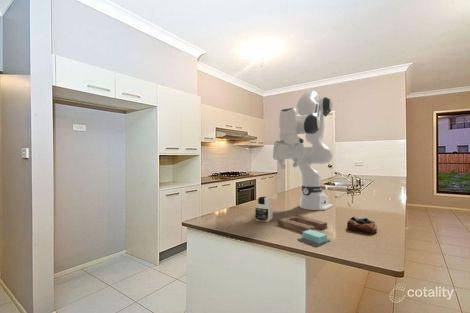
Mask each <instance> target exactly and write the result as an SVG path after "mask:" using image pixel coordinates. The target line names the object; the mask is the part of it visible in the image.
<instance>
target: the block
mask: <svg viewBox="0 0 470 313" xmlns="http://www.w3.org/2000/svg"><path fill="white" fill-rule="evenodd" d="M301 234H302V237H303V238H304V239H307V240H310V241H313V242H315V243H318V244H320V243H323V242H326V241H327V239H328V234H325V233H322V232H319V231H317V230H315V231H314V230H307V231H304V232H301Z"/></svg>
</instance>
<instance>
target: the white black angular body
mask: <svg viewBox="0 0 470 313" xmlns="http://www.w3.org/2000/svg"><path fill="white" fill-rule="evenodd" d="M257 202H258V203H257V204H258V206H255V207H254V208H255V221H257V222H258V221H259V222H266V223H269V222H270V221H271V220H273V205H271V204H270V202H271V201H270V198H269V197H268V196H260V197H259V196H258V198H257Z"/></svg>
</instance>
